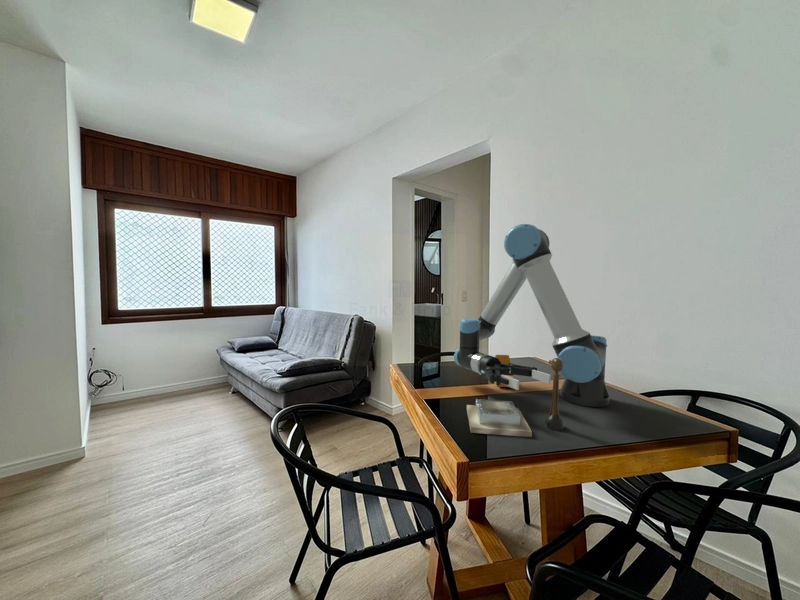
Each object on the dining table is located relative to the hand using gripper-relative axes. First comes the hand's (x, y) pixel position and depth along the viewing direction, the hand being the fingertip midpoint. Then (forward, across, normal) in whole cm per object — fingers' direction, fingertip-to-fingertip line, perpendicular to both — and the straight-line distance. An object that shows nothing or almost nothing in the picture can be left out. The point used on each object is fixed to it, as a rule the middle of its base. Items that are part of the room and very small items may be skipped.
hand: (534, 382), depth 98 cm
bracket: (-27, -15, -11) cm, 33 cm away
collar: (-2, +13, -9) cm, 16 cm away
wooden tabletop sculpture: (+7, 0, -11) cm, 13 cm away
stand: (-2, +13, -11) cm, 17 cm away
